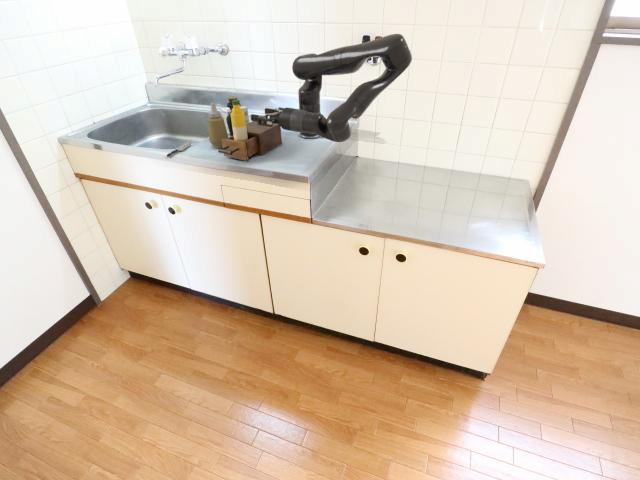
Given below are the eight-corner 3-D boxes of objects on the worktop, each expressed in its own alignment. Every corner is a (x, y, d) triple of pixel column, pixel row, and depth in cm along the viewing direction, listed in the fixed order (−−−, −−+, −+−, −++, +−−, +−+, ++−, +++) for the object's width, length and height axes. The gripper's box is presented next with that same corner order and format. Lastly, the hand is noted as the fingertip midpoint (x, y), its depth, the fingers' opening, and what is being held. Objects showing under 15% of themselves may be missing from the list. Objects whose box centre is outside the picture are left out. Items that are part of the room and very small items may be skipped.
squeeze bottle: (206, 146, 159) (198, 103, 149) (222, 141, 164) (215, 99, 154) (217, 151, 155) (209, 106, 145) (233, 145, 160) (226, 102, 149)
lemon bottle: (241, 148, 152) (234, 98, 140) (252, 150, 149) (245, 99, 138) (233, 152, 148) (225, 101, 137) (243, 154, 146) (236, 103, 135)
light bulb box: (243, 126, 180) (240, 103, 174) (251, 130, 176) (248, 106, 170) (223, 131, 175) (220, 108, 169) (230, 135, 171) (227, 111, 164)
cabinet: (261, 155, 150) (259, 134, 145) (237, 150, 155) (234, 129, 150) (281, 143, 161) (280, 123, 156) (258, 139, 166) (256, 119, 161)
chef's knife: (196, 141, 165) (190, 141, 165) (196, 139, 164) (190, 138, 164) (173, 158, 149) (166, 157, 150) (172, 155, 149) (165, 154, 149)
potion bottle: (251, 138, 167) (246, 96, 157) (239, 144, 161) (233, 101, 151) (237, 135, 170) (231, 94, 160) (225, 140, 165) (218, 98, 154)
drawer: (237, 165, 140) (234, 148, 136) (214, 160, 144) (211, 143, 140) (266, 149, 153) (265, 132, 149) (245, 144, 158) (243, 128, 154)
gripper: (285, 137, 126) (247, 130, 133) (307, 125, 136) (270, 119, 143) (284, 114, 122) (244, 108, 128) (306, 104, 132) (268, 98, 139)
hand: (258, 114), depth 136 cm, fingers open, 8 cm apart
